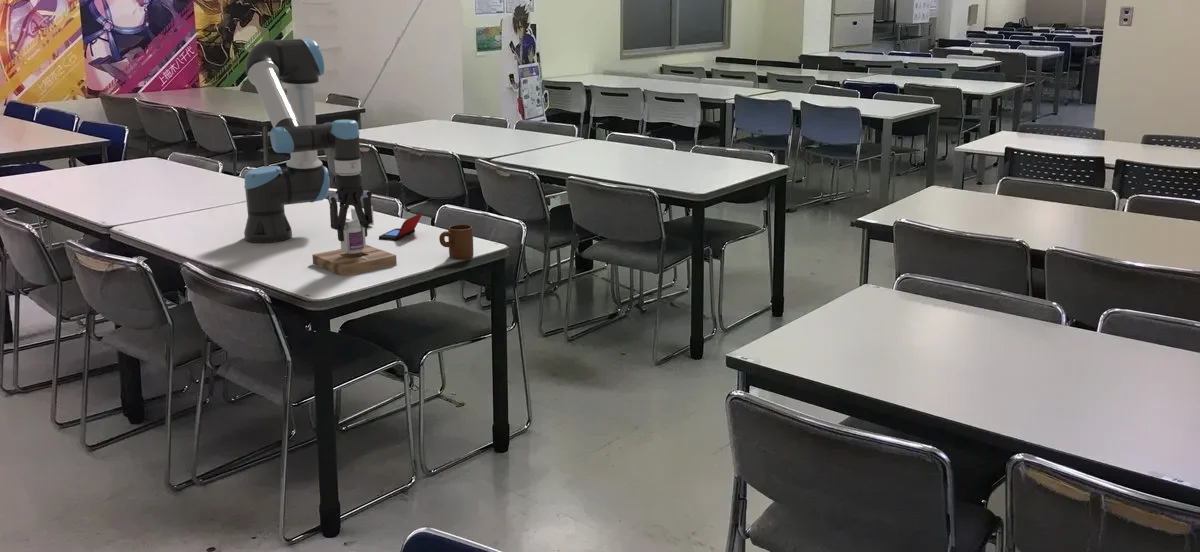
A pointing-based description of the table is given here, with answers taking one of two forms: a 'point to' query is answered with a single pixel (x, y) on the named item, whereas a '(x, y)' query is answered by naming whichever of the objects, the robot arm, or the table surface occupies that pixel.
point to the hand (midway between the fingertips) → (353, 249)
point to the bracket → (353, 215)
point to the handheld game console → (402, 229)
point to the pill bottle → (353, 236)
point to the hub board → (354, 260)
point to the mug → (458, 241)
